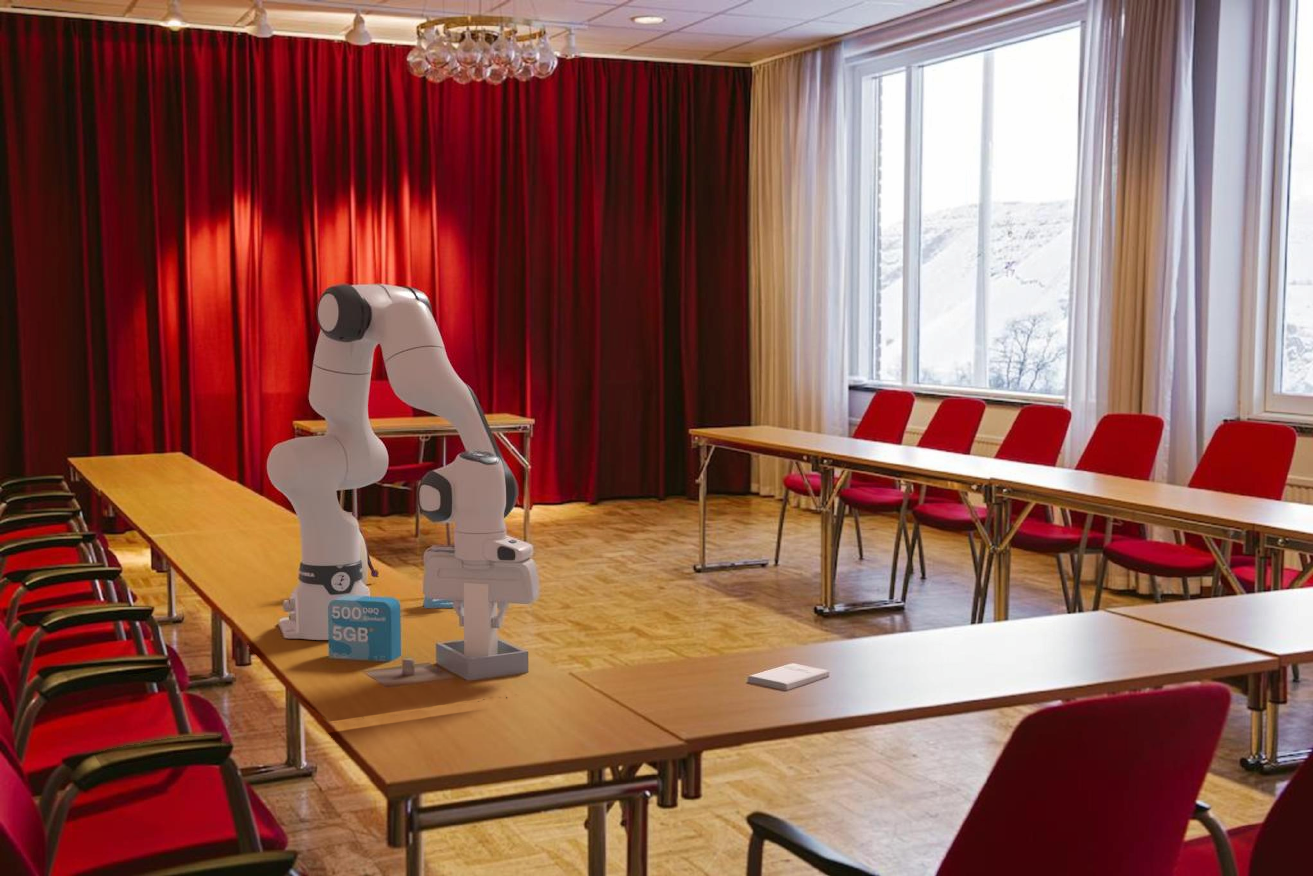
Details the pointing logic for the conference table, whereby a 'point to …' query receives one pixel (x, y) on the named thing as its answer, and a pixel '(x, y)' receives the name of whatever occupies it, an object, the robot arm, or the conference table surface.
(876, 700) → the conference table surface
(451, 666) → the bin
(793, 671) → the external hard drive
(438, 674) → the stud plate
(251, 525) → the conference table surface
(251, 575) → the conference table surface
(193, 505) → the conference table surface
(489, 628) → the strut
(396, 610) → the data package
